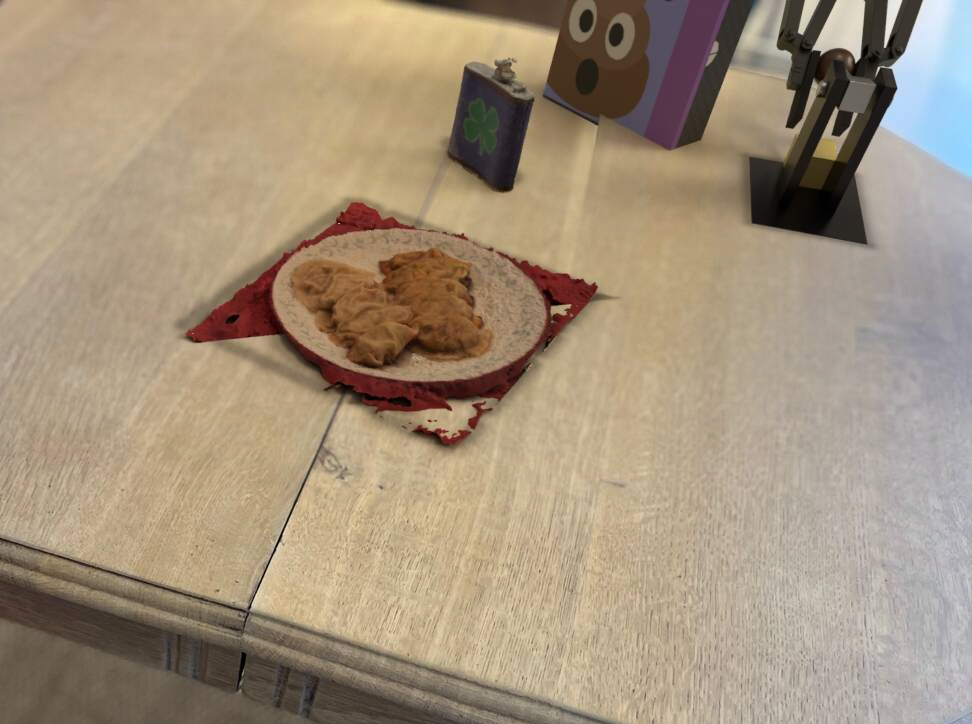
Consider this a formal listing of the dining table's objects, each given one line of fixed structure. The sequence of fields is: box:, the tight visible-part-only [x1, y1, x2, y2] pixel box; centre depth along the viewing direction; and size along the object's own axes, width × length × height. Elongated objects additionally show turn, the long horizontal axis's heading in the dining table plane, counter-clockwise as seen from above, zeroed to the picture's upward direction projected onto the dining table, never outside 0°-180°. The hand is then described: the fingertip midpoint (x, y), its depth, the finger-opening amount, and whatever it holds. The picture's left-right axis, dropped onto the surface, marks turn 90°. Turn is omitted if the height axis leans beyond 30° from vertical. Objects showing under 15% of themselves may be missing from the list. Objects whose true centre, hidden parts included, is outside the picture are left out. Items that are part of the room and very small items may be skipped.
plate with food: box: [184, 201, 599, 446], centre depth 85 cm, size 24×26×4 cm
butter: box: [782, 133, 838, 190], centre depth 102 cm, size 5×4×3 cm
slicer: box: [748, 60, 898, 246], centre depth 96 cm, size 14×10×13 cm
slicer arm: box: [813, 47, 877, 114], centre depth 98 cm, size 15×4×4 cm, turn 162°
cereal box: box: [542, 0, 755, 151], centre depth 104 cm, size 17×5×24 cm, turn 33°
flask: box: [446, 57, 535, 194], centre depth 100 cm, size 9×3×11 cm, turn 28°
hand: (817, 126), depth 103 cm, fingers closed on slicer arm, 4 cm apart
